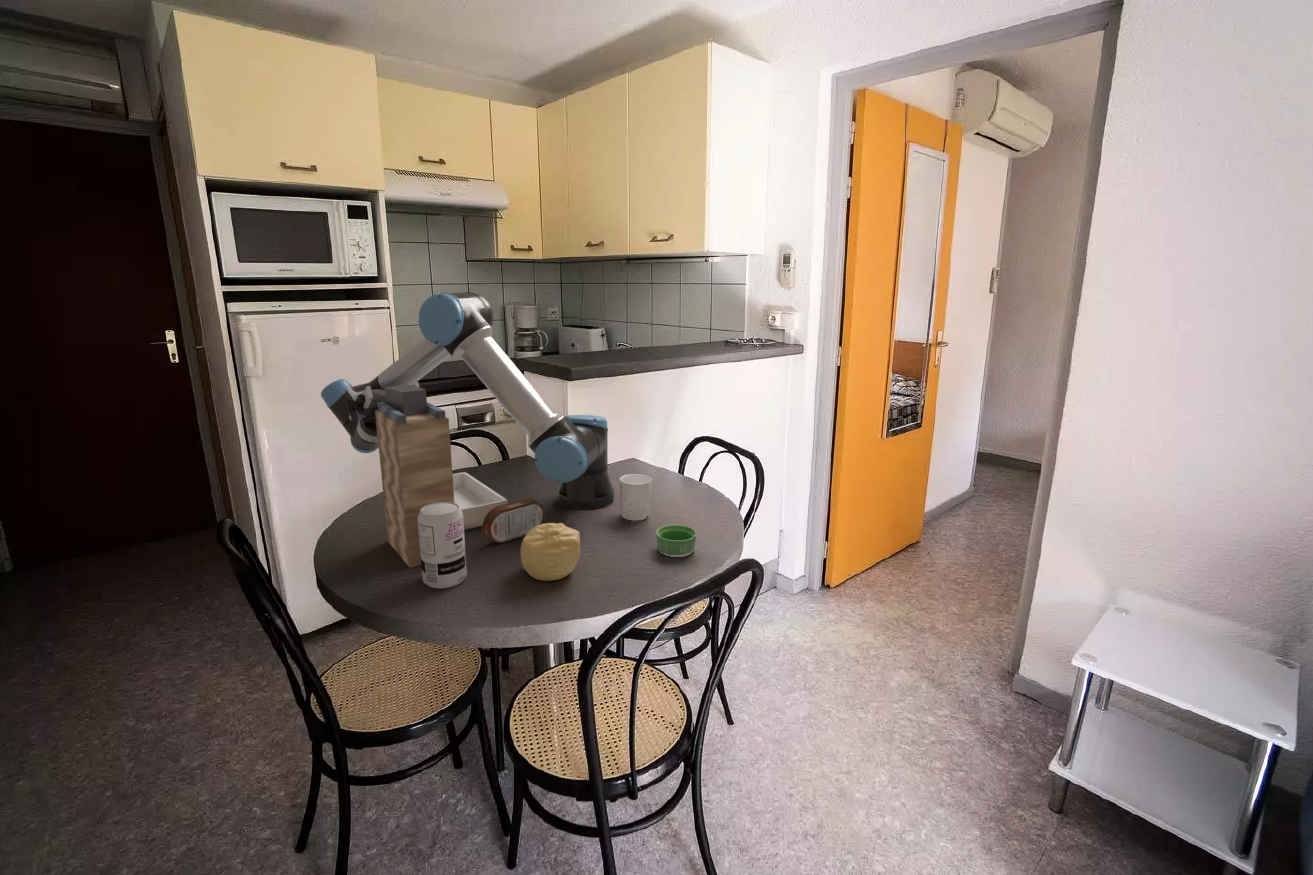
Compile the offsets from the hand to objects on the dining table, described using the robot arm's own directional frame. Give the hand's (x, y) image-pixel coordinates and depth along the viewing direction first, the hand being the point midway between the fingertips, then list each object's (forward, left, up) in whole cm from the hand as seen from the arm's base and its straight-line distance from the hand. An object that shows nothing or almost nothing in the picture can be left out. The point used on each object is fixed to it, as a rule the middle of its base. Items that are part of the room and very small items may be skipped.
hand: (394, 389), depth 134 cm
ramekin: (-63, 0, -34) cm, 71 cm away
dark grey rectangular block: (-1, +2, -4) cm, 4 cm away
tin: (-26, -1, -34) cm, 42 cm away
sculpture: (-39, +15, -34) cm, 53 cm away
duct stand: (-8, +8, -34) cm, 35 cm away
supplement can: (-19, +21, -34) cm, 44 cm away
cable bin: (-6, -16, -34) cm, 38 cm away
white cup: (-51, -18, -34) cm, 64 cm away
